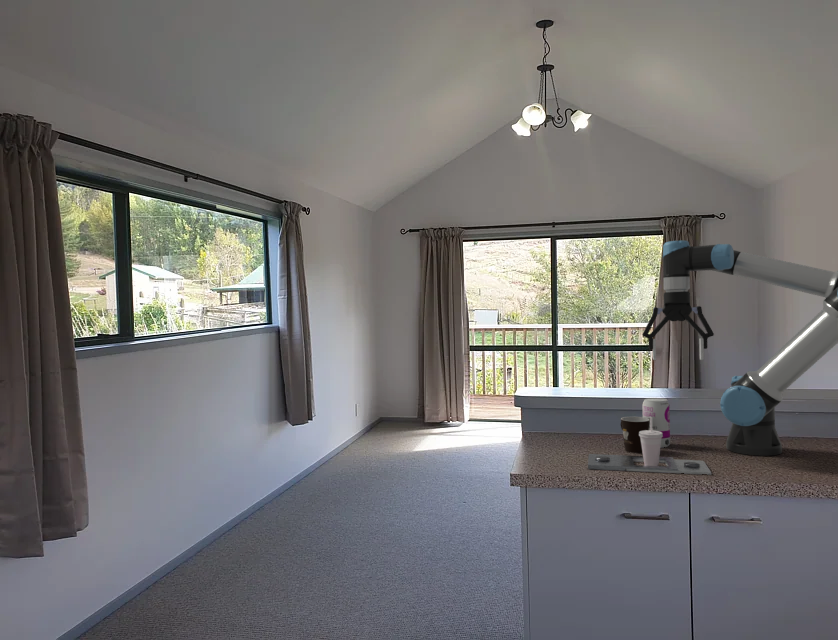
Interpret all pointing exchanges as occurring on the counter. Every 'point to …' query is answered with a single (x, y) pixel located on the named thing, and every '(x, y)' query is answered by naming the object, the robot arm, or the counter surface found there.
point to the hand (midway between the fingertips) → (677, 359)
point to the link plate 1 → (626, 463)
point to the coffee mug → (633, 432)
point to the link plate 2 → (681, 467)
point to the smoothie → (651, 445)
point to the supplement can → (658, 417)
